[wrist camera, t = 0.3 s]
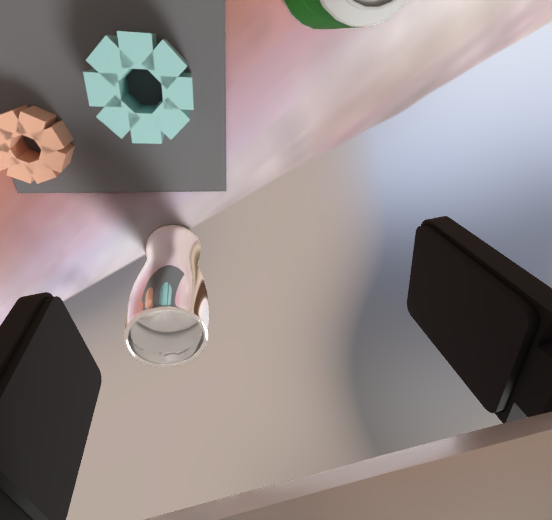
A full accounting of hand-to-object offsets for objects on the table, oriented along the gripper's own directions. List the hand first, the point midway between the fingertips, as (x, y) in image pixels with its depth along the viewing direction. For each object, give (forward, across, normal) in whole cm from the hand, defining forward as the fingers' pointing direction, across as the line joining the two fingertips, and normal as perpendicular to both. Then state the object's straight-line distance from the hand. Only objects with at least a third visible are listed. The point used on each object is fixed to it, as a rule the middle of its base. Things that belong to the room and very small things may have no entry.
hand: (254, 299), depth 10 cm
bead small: (+30, +16, 0) cm, 33 cm away
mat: (+30, +8, -4) cm, 31 cm away
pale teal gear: (+30, +5, -3) cm, 30 cm away
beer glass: (+30, +7, +14) cm, 34 cm away
